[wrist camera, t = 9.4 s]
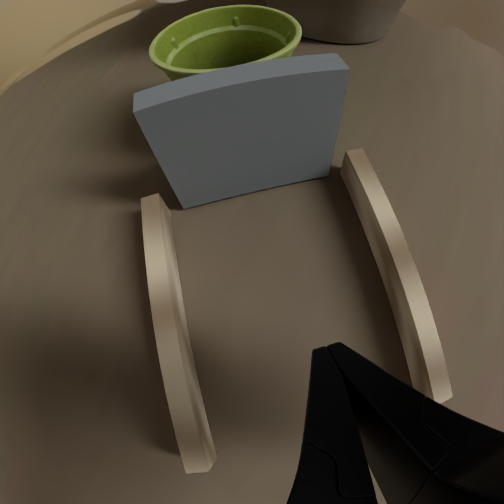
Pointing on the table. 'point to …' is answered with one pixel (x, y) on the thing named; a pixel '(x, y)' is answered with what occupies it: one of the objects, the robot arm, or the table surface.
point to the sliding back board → (245, 125)
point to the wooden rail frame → (392, 273)
